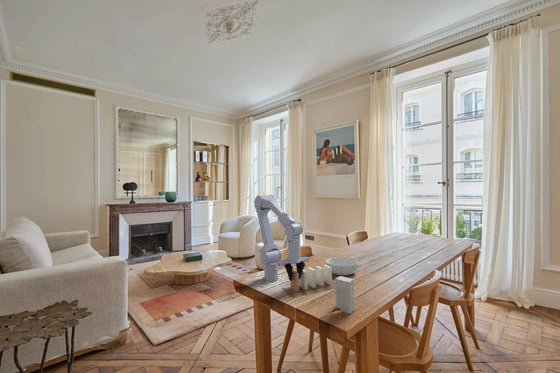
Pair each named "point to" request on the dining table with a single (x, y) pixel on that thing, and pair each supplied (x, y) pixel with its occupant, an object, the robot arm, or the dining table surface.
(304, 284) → the domino
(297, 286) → the terracotta domino
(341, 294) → the skincare box
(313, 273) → the domino
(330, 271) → the domino
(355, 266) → the cereal bowl
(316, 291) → the board
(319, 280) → the domino
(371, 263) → the dining table surface
